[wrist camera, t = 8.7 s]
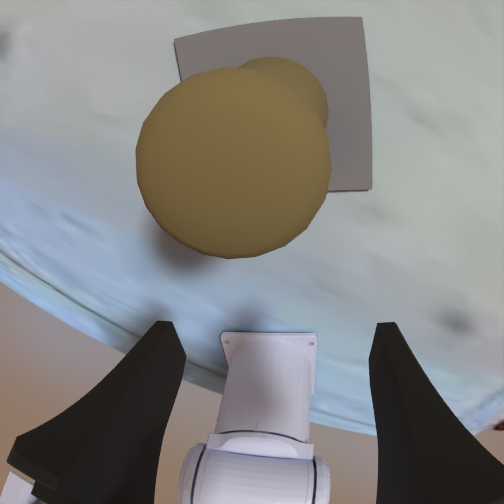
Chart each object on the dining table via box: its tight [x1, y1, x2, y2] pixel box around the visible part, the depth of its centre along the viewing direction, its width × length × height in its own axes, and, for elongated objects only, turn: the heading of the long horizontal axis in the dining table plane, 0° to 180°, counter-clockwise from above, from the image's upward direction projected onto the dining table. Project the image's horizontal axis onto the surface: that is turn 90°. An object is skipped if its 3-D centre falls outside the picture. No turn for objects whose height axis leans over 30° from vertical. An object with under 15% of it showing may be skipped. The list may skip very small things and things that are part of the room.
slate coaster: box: [174, 17, 372, 191], centre depth 16 cm, size 10×10×1 cm
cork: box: [136, 57, 332, 259], centre depth 11 cm, size 6×6×11 cm
